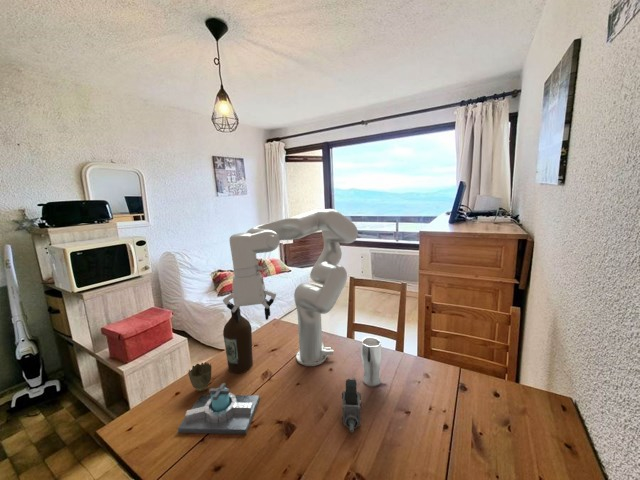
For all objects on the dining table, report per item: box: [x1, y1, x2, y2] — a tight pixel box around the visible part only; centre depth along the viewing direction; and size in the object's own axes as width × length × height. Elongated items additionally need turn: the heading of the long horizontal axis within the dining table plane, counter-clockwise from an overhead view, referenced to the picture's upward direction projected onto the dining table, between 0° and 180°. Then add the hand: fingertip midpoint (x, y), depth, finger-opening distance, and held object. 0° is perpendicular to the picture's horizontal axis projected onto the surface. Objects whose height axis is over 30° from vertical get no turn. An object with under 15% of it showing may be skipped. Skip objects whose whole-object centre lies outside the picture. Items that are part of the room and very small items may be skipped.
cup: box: [187, 362, 212, 393], centre depth 92 cm, size 8×7×8 cm
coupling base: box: [177, 392, 260, 435], centre depth 80 cm, size 20×13×4 cm, turn 86°
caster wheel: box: [341, 378, 362, 434], centre depth 77 cm, size 6×10×15 cm
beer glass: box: [361, 336, 383, 387], centre depth 92 cm, size 7×7×15 cm
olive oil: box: [222, 306, 254, 374], centre depth 103 cm, size 11×11×25 cm
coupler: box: [208, 382, 231, 412], centre depth 80 cm, size 5×5×7 cm
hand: (253, 319), depth 88 cm, fingers open, 9 cm apart
